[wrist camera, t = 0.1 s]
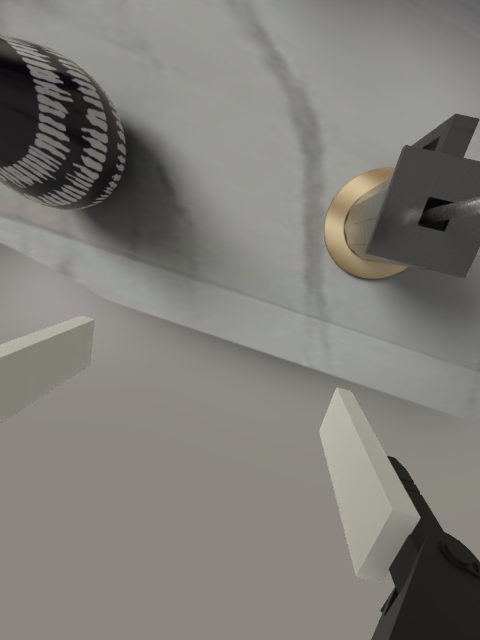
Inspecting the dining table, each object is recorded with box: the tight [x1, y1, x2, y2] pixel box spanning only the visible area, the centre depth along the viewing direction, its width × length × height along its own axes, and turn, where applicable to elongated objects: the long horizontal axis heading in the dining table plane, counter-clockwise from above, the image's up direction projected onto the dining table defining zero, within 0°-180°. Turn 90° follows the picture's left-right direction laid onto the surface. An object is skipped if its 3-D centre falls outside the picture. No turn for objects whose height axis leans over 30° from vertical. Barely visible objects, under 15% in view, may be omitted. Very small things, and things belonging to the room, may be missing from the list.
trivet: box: [324, 168, 408, 279], centre depth 36 cm, size 14×14×1 cm
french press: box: [343, 114, 480, 278], centre depth 29 cm, size 13×9×13 cm
